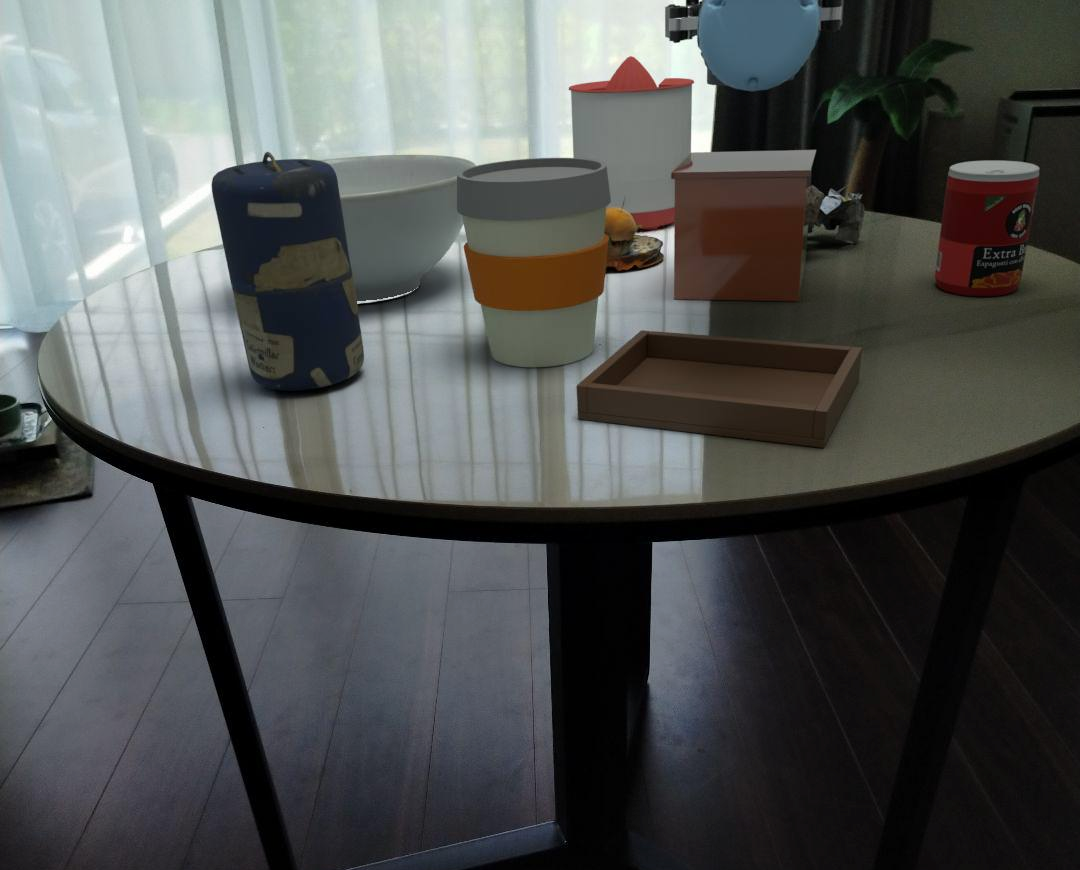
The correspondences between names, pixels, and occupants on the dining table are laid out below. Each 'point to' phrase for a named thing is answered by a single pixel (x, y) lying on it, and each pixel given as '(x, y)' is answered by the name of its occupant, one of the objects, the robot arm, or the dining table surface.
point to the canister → (290, 271)
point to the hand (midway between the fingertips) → (751, 13)
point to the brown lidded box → (741, 224)
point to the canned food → (985, 227)
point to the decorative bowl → (397, 218)
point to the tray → (724, 387)
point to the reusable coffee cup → (536, 254)
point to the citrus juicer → (635, 137)
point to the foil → (837, 213)
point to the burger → (628, 242)
